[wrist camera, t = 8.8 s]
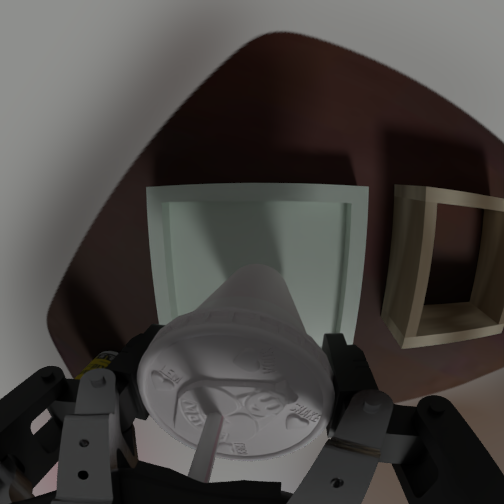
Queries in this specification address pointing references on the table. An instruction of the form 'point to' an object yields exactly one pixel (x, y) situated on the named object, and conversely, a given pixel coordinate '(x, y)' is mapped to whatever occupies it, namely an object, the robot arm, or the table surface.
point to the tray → (261, 246)
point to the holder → (418, 268)
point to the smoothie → (238, 375)
